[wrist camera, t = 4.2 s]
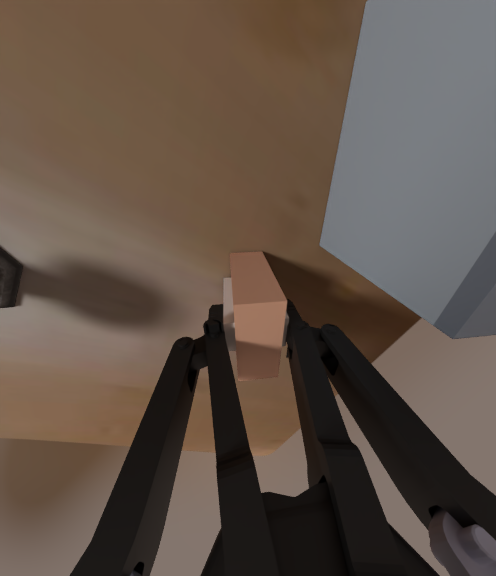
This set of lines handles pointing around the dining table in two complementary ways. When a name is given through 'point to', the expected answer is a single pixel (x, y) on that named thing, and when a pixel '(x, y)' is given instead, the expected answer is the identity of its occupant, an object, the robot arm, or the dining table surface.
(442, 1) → the coin box
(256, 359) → the peach rectangular block
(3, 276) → the figurine
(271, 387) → the dining table surface
